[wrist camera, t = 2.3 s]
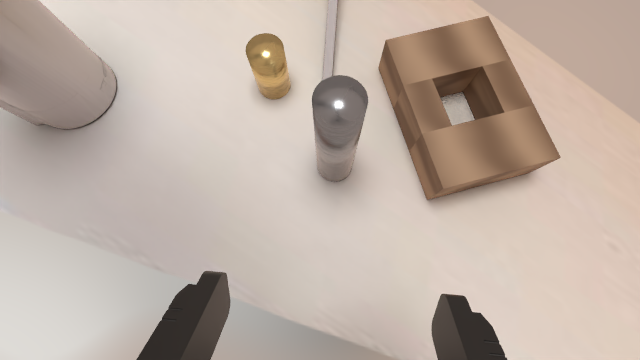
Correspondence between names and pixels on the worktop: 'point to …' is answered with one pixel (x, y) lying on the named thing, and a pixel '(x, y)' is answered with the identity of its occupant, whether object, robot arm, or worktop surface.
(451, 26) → the hole block
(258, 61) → the short pin
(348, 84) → the long pin
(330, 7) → the caliper
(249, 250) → the worktop surface
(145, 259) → the worktop surface
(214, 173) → the worktop surface
